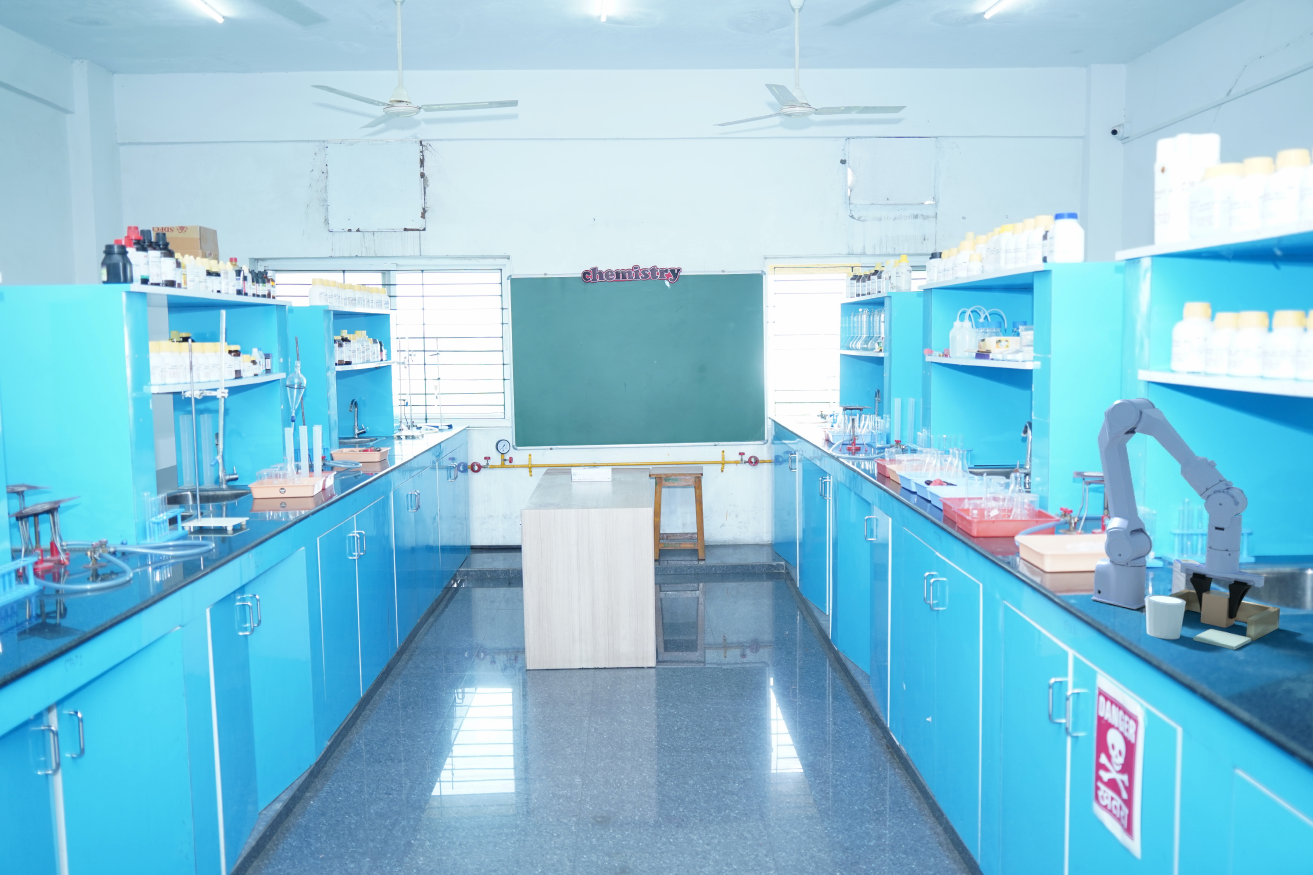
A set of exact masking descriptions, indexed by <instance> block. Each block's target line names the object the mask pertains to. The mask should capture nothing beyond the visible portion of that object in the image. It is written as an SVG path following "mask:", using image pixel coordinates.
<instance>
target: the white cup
mask: <svg viewBox="0 0 1313 875" xmlns="http://www.w3.org/2000/svg"><path fill="white" fill-rule="evenodd" d="M1144 600H1145V601H1146V606H1145V619H1146V621H1145V624H1146V634H1147V635H1148V636H1150V637H1151V636H1152V637H1154V638H1158V639H1163V640H1177V639H1180V637H1181V633H1182V632H1181V631H1182V626H1183V620H1184V615H1185V611H1184V610H1185V604H1186V601H1184V600H1182V599H1179V598H1176V597H1171V596H1169V595H1165V594H1164V595H1163V594H1148V595H1146V596H1144Z"/></svg>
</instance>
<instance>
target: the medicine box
mask: <svg viewBox="0 0 1313 875" xmlns="http://www.w3.org/2000/svg"><path fill="white" fill-rule="evenodd" d="M1184 562H1187V563H1194V564H1201V563H1200V562H1198V561H1196V559H1187V558H1175V559H1173V564H1172V565H1173V566H1172V578H1171V579H1172V581H1171V594H1174V593H1176V592H1179V591H1182V590H1184V589H1188V590H1193V591H1195V589H1194V587H1193V585H1192V583H1191V582H1190V578H1191V577H1192V576H1193V574H1190V573H1180V566H1181V563H1184Z"/></svg>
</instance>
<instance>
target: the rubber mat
mask: <svg viewBox="0 0 1313 875" xmlns="http://www.w3.org/2000/svg"><path fill="white" fill-rule="evenodd" d="M1192 640H1193V641H1196V642H1200V643H1204V644H1209V645H1213V646H1217V647H1222V648H1225V649H1230V650H1234V651H1235V650H1237V649H1238V648H1241V647H1242V646H1245V645H1246V644H1247V645H1248V643H1251V642H1252V641H1251V638H1249V637H1246V636H1243V635H1239V634H1235V633H1229V632H1227V631H1223V630H1217V629H1213V628H1210V629H1207V630H1206V631H1203V632H1200V633H1199V634H1197V635H1194V636H1193V639H1192Z"/></svg>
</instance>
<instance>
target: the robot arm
mask: <svg viewBox="0 0 1313 875" xmlns="http://www.w3.org/2000/svg"><path fill="white" fill-rule="evenodd" d="M1103 414H1104V419H1103V422H1102V424H1101V427H1100V430H1099V432H1098V434H1097V445H1098V450H1099V456H1100V461H1101V462H1100V463H1101V469H1102V475H1103V479H1104V488H1105V493H1106V499H1107V506H1108V510H1109V511H1108V512H1109V517H1110V518H1109V519H1110V520H1109V522H1108V524H1107V527H1106V530H1105V532H1106V540H1105V542H1104V552H1105V554H1106V556H1107V557H1108V558H1106V557H1105V558H1104V557H1103V558H1100V559H1099V560H1098V561H1097V562H1096V565H1095V568H1094V569H1095V570H1094V576H1093V594H1092V595H1093V596H1092V597H1091V600H1092V601H1096V602H1101V603H1105V604H1110V605H1114V606H1118V607H1124V608H1127V609H1131V610H1137V609H1141V608H1143V607H1146V601H1145V591H1146V576H1147V575H1146V573H1147V560H1146V557H1147V556H1148V555H1149V554H1150V553H1151V551H1152V549H1153V541H1152V538H1151V536H1150V535H1149V533H1148V532H1147V529H1146V526H1145V523H1144V521H1143V520H1142V519H1141V518H1140V516H1139V513H1138V509H1137V502H1136V496H1135V489H1134V483H1133V477H1132V473H1131V472H1132V471H1131V467H1130V460H1129V454H1128V453H1129V452H1128V449H1127V448H1128V447H1127V443H1129V441H1130V440H1131V439H1132V438H1133V437H1134V436H1135V435H1136V433H1138V434H1143V435H1148V436H1150V437H1153V439H1155V441H1157V442H1158V444H1160V446H1161V447H1162V448H1164V450H1165V451H1166V452H1167V453H1168V454H1170V456H1172V458H1174V459H1175V461H1176V462H1177V463H1178V464H1179V465H1180V476H1182V478H1183V479H1184V480H1185V481H1186V483H1188V485H1189V486H1190V487H1191V488H1192V489H1193V490H1194V491H1195V492H1196V494H1197V495H1198V496H1199V497H1200V499H1202V500H1204V502H1203V504H1204V509H1205V511H1206V513H1207V514H1208V523H1207V532H1206V533H1207V535H1206V536H1207V537H1206V547H1205V561H1204V562H1205V563H1204V564H1202V563H1200V564H1194V563H1187V562H1184V563H1181V566H1180V573H1190V574H1193V576H1192V577H1191V578H1190V582H1191V583H1192V585H1193V587H1194V589H1195V592H1196V594H1197V597H1198V601H1199V605H1200V612H1201V611H1202V597H1203V593H1204V592H1207V591H1210V590H1211V587H1212V582H1213V579H1218V580H1222V581H1227V582H1232V583H1230V584H1228V593H1229V598H1230V603H1229V611H1228V617H1229V618H1230V619H1233V618H1235V617H1236V615H1237V612H1238V609H1239V606H1240V604H1241V602H1242V601H1244V599H1245V596H1246V595H1247V594H1248V592H1249V591H1250V590H1251V588H1252V586H1254V587H1255V588H1262V587H1264V586H1265V575H1261V574H1260V575H1259V574H1255V573H1251V572H1247V571H1244V570H1239V566H1240V554H1241V542H1242V529H1243V526H1242V524H1243V521H1242V520H1243V514H1242V513H1244V512H1245V510H1246V509H1247V508H1248V504H1249V503H1248V502H1249V501H1248V497H1247V496H1246V494H1245V492H1244V490H1243V489H1241V488H1240V487H1237V486H1234V483H1233V481H1232V480H1227V478H1225V476H1224V475H1223V474H1222V473H1221V472H1220V471H1219V470H1218V468H1217V467H1216V466H1218V465H1217V462H1215V460H1214V459H1211V460H1210V459H1208V458H1207V456H1199V455H1197V454H1196V453H1194V451H1193V449H1191V447H1190V446H1189V444H1188V443H1187V442H1186V441H1185V440H1184V439H1183V437H1182V436H1181V435H1180V434H1179V433H1178V432H1177V430H1176V429H1175V428H1174V426H1173V425H1172V424H1171V422H1170V421H1169V420H1168V419H1167V416H1165V413H1163V411H1162V410H1160V408H1158V407H1156V405H1155V404H1154V403H1153V402H1152V401H1151V400H1150V399H1148V398H1145V397H1137V398H1129V399H1127V398H1122V399H1118V400H1116V401H1114V402H1113V403H1112V404H1110V405H1109V407H1107V408H1106V410H1105V411H1104V412H1103ZM1200 612H1199V613H1200Z"/></svg>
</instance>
